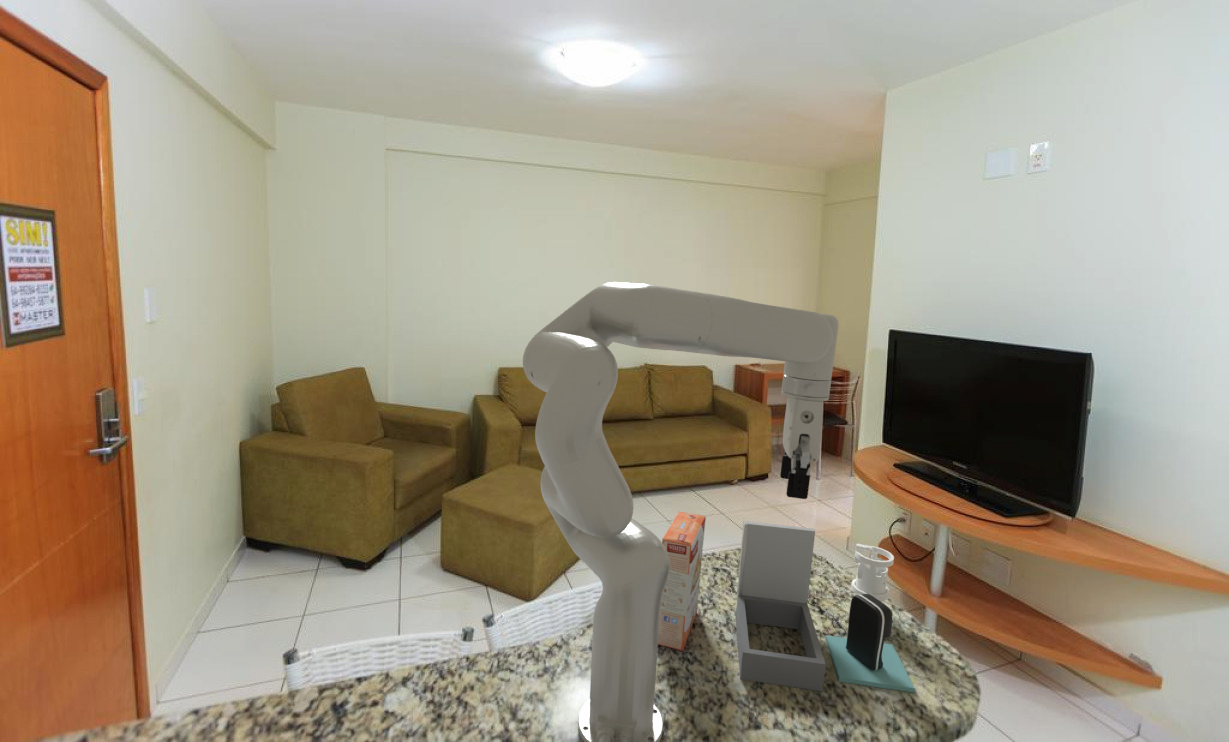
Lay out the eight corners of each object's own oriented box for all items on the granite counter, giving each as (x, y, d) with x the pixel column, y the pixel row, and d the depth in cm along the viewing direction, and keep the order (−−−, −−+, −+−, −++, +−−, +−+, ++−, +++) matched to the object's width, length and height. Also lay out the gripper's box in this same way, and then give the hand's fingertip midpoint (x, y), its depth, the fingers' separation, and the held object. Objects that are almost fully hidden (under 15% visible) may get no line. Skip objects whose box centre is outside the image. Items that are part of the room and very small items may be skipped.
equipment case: (822, 691, 95) (835, 579, 92) (740, 679, 97) (750, 569, 94) (803, 623, 114) (814, 528, 111) (735, 614, 117) (743, 520, 113)
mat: (914, 692, 96) (914, 688, 96) (839, 681, 98) (839, 677, 98) (892, 648, 108) (892, 644, 108) (825, 639, 110) (825, 635, 110)
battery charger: (889, 669, 101) (898, 608, 99) (873, 673, 99) (881, 612, 97) (859, 645, 107) (867, 588, 105) (843, 648, 106) (850, 591, 104)
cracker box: (685, 653, 104) (693, 544, 100) (653, 645, 105) (659, 537, 102) (699, 612, 117) (707, 514, 113) (670, 605, 119) (677, 509, 115)
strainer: (849, 603, 123) (857, 537, 120) (885, 613, 119) (894, 545, 117) (846, 620, 116) (855, 550, 114) (885, 630, 113) (894, 559, 111)
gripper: (840, 399, 85) (825, 509, 88) (820, 383, 102) (808, 475, 105) (788, 394, 87) (774, 502, 89) (777, 378, 104) (766, 469, 106)
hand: (792, 487), depth 97 cm, fingers open, 9 cm apart
